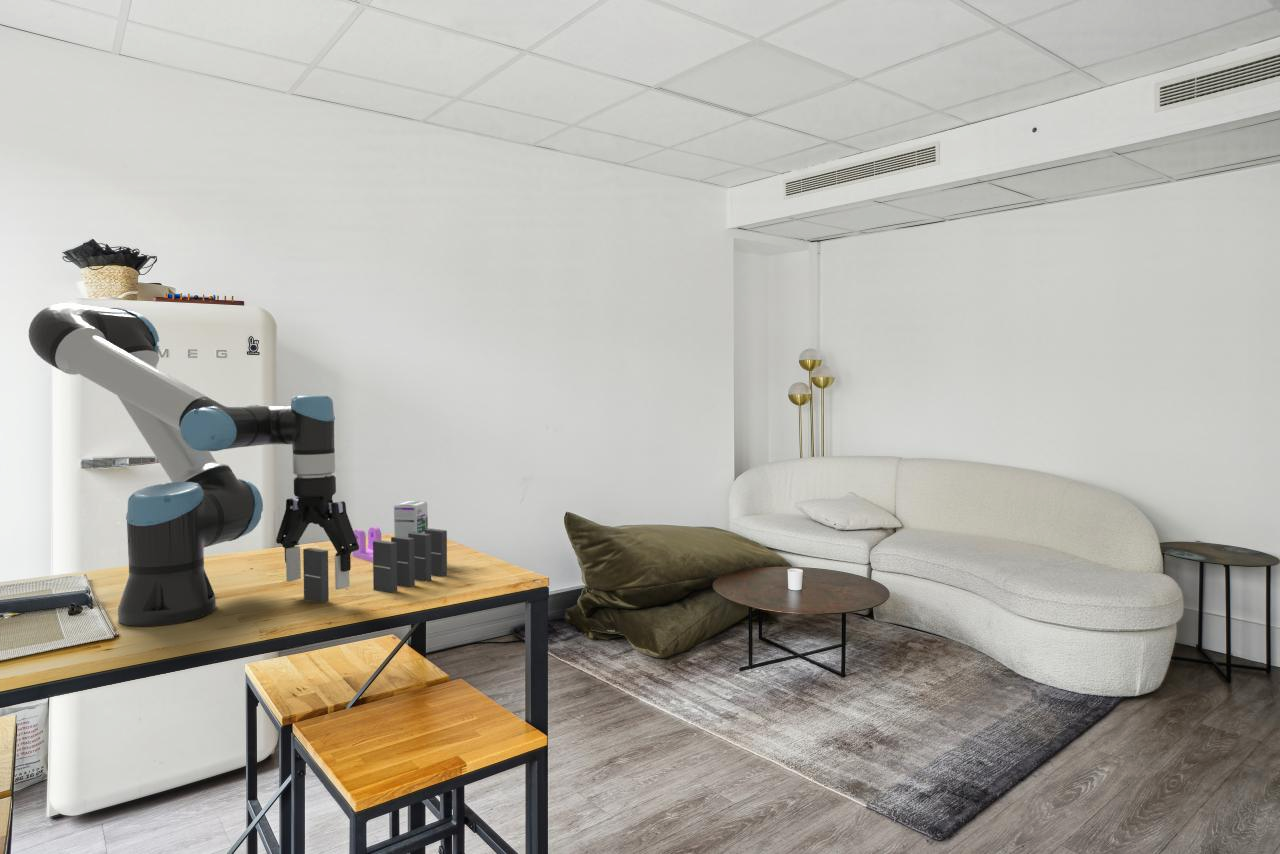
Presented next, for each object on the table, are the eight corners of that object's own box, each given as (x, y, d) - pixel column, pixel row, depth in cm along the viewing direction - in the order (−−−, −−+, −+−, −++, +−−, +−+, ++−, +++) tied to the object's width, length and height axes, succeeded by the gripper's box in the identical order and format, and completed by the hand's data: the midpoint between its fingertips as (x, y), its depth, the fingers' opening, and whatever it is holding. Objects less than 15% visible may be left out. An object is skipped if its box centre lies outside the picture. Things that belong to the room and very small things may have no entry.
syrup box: (417, 567, 176) (416, 505, 176) (393, 565, 178) (393, 503, 177) (428, 561, 182) (428, 501, 181) (406, 560, 183) (405, 500, 182)
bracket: (352, 557, 187) (352, 528, 187) (373, 553, 191) (373, 525, 191) (381, 565, 179) (381, 536, 178) (402, 561, 183) (402, 532, 182)
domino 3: (391, 584, 161) (390, 537, 161) (397, 582, 163) (396, 535, 162) (409, 587, 159) (408, 539, 159) (414, 585, 161) (414, 538, 160)
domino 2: (373, 589, 157) (372, 541, 156) (379, 587, 159) (379, 540, 158) (391, 592, 155) (390, 544, 154) (397, 590, 156) (396, 542, 156)
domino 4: (408, 578, 166) (408, 533, 165) (414, 577, 167) (413, 532, 167) (425, 581, 164) (425, 535, 163) (431, 579, 165) (431, 534, 165)
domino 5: (424, 573, 170) (424, 529, 170) (430, 572, 172) (429, 528, 171) (441, 576, 168) (441, 531, 167) (447, 574, 170) (446, 530, 169)
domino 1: (303, 599, 149) (303, 549, 149) (311, 597, 151) (310, 547, 150) (321, 603, 147) (321, 552, 146) (328, 601, 148) (328, 550, 148)
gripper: (376, 476, 145) (379, 586, 146) (287, 470, 156) (290, 572, 157) (345, 480, 138) (348, 596, 139) (254, 474, 150) (257, 581, 151)
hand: (317, 584), depth 148 cm, fingers open, 13 cm apart
